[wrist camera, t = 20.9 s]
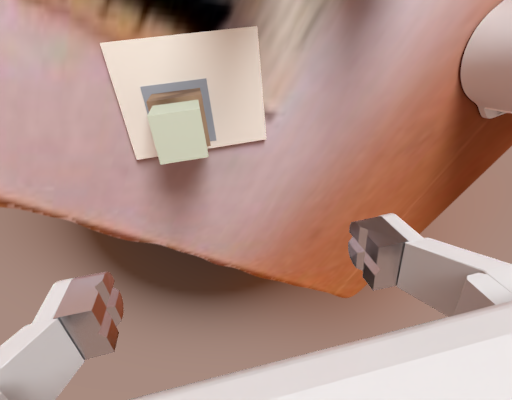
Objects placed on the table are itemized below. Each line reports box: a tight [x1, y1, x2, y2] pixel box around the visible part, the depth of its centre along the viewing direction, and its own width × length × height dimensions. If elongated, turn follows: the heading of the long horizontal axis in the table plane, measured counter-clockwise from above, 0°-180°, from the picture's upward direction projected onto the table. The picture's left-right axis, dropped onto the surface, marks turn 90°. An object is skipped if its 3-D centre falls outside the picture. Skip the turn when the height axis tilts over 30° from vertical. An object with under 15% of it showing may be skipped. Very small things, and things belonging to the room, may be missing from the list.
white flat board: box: [100, 26, 266, 160], centre depth 38 cm, size 18×14×1 cm
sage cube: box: [147, 100, 209, 165], centre depth 32 cm, size 5×5×5 cm
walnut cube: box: [146, 88, 211, 146], centre depth 36 cm, size 6×6×5 cm
